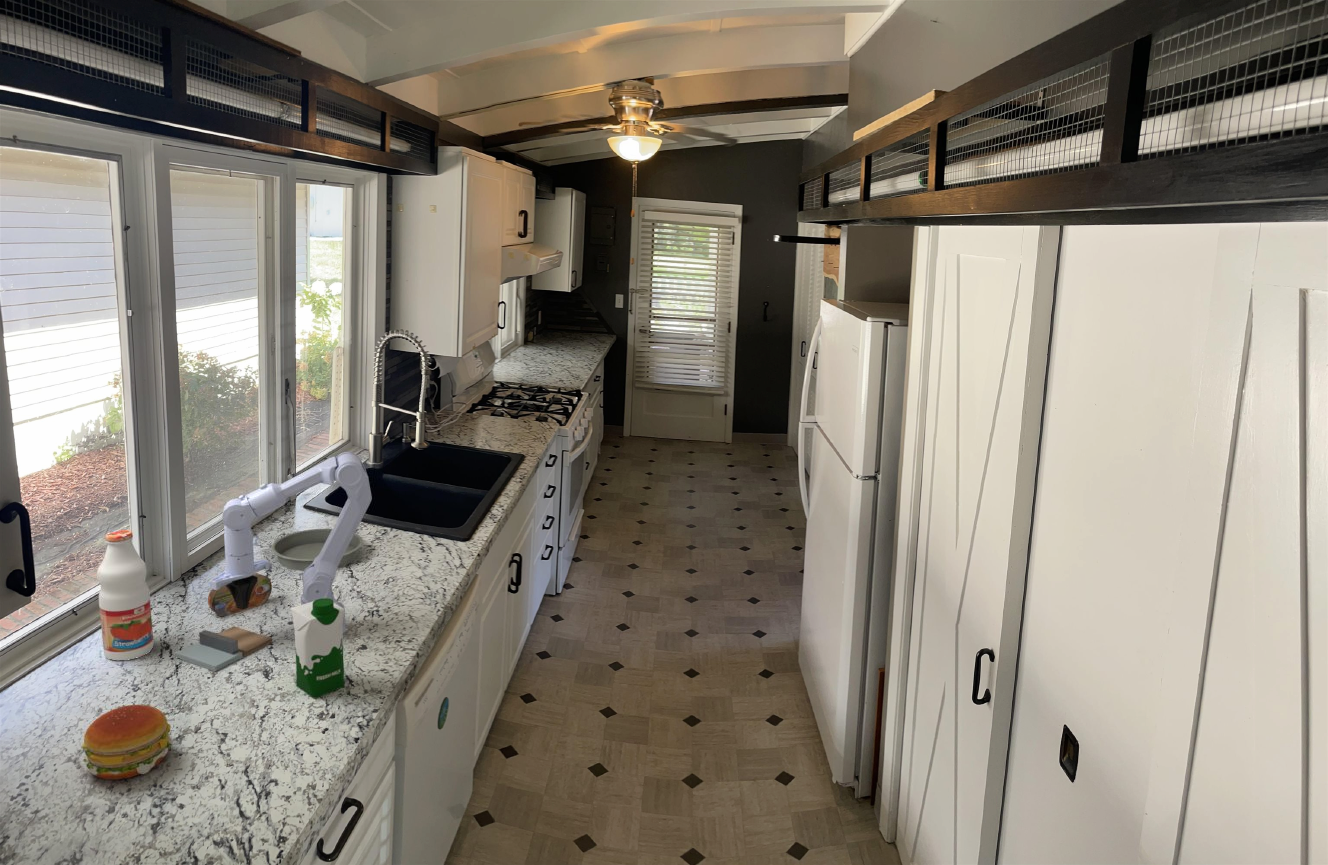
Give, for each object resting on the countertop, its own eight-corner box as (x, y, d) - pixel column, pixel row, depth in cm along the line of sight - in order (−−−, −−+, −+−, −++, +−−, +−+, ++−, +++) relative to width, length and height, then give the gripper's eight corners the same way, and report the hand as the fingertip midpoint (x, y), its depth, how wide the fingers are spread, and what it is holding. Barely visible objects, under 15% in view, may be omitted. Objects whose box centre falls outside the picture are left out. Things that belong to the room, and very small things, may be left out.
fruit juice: (138, 637, 195) (128, 522, 188) (163, 649, 190) (153, 532, 184) (95, 654, 187) (83, 534, 180) (119, 666, 182) (107, 544, 176)
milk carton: (311, 702, 174) (308, 612, 169) (289, 685, 180) (285, 598, 175) (350, 686, 181) (348, 599, 176) (328, 670, 186) (325, 586, 182)
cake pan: (252, 564, 239) (251, 549, 238) (311, 537, 262) (311, 523, 261) (326, 580, 232) (325, 564, 231) (380, 550, 255) (380, 536, 254)
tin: (213, 620, 205) (211, 588, 203) (206, 616, 207) (204, 584, 205) (273, 602, 217) (271, 571, 215) (266, 598, 219) (265, 567, 217)
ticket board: (272, 642, 197) (272, 637, 196) (243, 657, 189) (243, 652, 189) (234, 630, 201) (233, 625, 201) (204, 644, 194) (204, 639, 193)
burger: (72, 763, 151) (67, 712, 149) (155, 731, 161) (151, 683, 159) (102, 796, 143) (97, 744, 141) (187, 761, 153) (183, 711, 151)
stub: (242, 657, 189) (241, 640, 188) (215, 671, 183) (214, 654, 182) (203, 644, 193) (202, 628, 192) (175, 657, 187) (174, 641, 186)
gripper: (252, 538, 199) (255, 592, 203) (198, 558, 186) (202, 615, 189) (275, 544, 197) (277, 598, 200) (221, 565, 184) (225, 622, 187)
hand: (242, 607), depth 195 cm, fingers closed
